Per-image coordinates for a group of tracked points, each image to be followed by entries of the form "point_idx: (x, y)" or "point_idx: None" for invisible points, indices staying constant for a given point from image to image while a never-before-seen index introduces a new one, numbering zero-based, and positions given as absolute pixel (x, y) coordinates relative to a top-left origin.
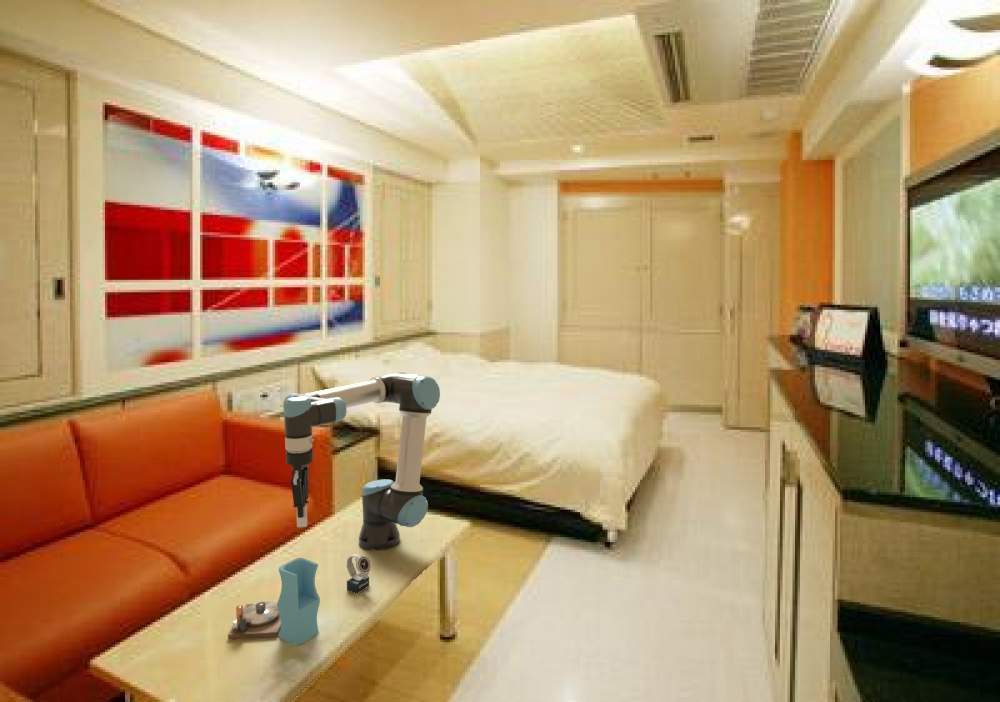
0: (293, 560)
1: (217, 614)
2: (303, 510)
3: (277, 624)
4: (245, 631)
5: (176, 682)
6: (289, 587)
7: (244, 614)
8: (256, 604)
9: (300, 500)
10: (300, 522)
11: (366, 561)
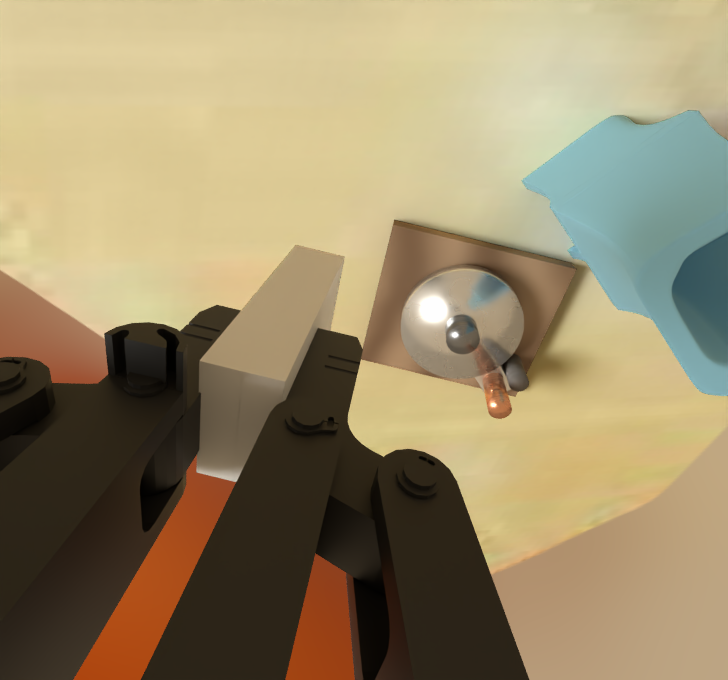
0: (660, 313)
1: (367, 415)
2: (299, 367)
3: (528, 268)
4: (521, 356)
5: (640, 471)
6: None
7: (462, 372)
8: (457, 352)
9: (499, 640)
10: (327, 326)
11: None
